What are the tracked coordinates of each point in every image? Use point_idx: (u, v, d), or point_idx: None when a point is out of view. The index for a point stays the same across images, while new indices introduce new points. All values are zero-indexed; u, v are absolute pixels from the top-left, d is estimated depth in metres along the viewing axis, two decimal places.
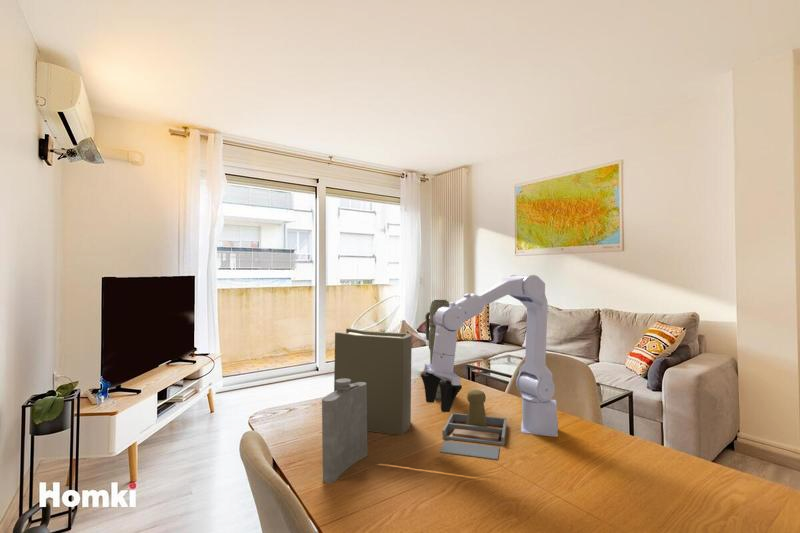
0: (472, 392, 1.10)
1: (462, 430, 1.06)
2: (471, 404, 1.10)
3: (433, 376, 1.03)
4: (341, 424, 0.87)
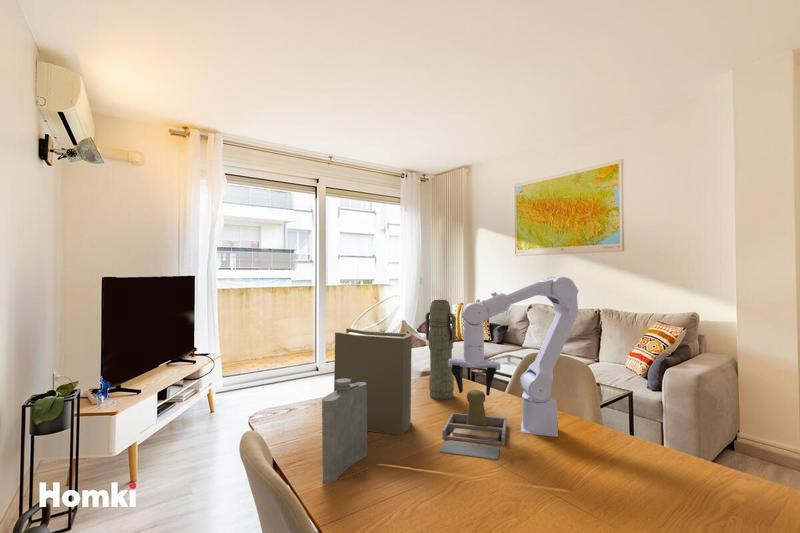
0: (472, 392, 1.10)
1: (462, 429, 1.07)
2: (471, 404, 1.10)
3: (461, 368, 1.12)
4: (341, 424, 0.87)
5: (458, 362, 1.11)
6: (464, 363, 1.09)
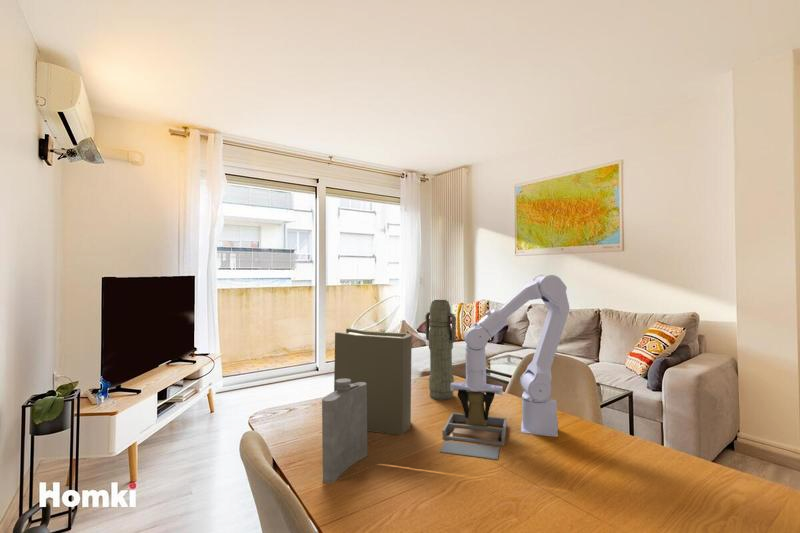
0: (472, 392, 1.10)
1: (462, 429, 1.07)
2: (471, 404, 1.10)
3: (466, 392, 1.12)
4: (341, 424, 0.87)
5: (460, 387, 1.11)
6: (466, 388, 1.10)
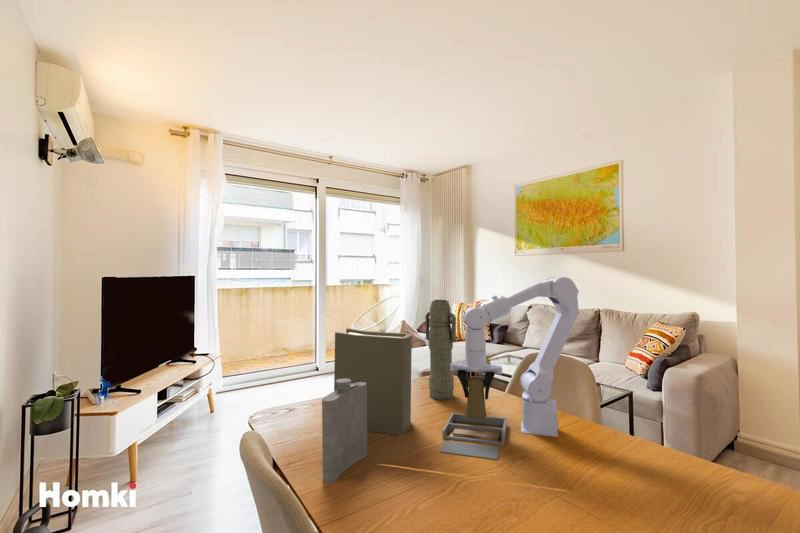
0: (472, 378, 1.10)
1: (462, 430, 1.07)
2: (471, 390, 1.10)
3: (466, 373, 1.12)
4: (341, 424, 0.87)
5: (460, 367, 1.11)
6: (466, 368, 1.10)
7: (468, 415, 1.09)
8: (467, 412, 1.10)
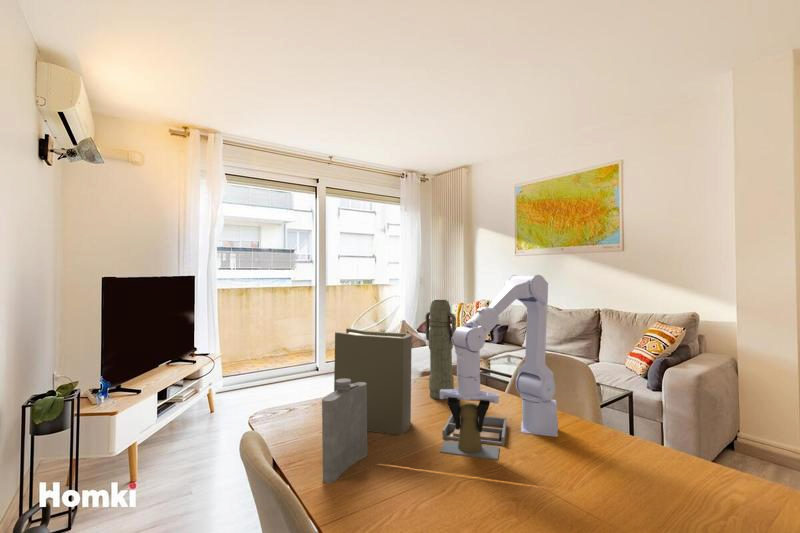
0: (465, 405, 0.97)
1: None
2: (464, 419, 0.97)
3: (458, 401, 0.98)
4: (341, 424, 0.87)
5: (451, 394, 0.97)
6: (458, 396, 0.96)
7: (461, 448, 0.96)
8: (460, 445, 0.97)
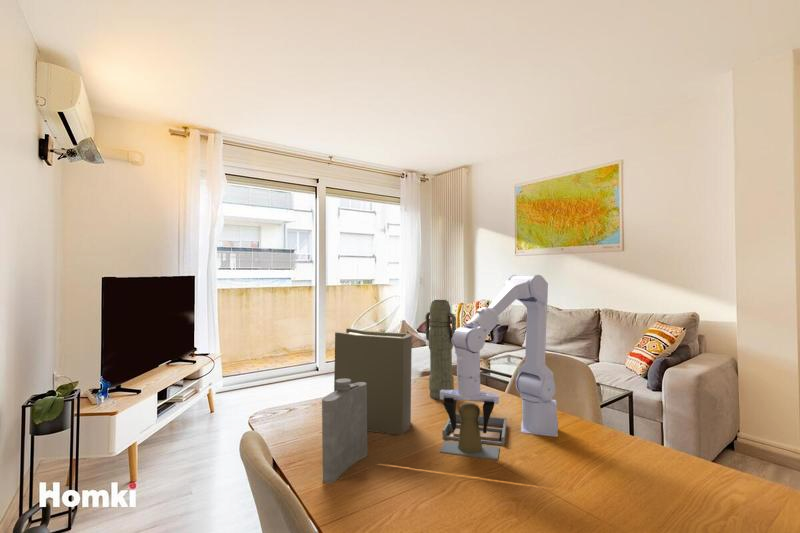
0: (465, 405, 0.97)
1: None
2: (464, 419, 0.97)
3: (454, 401, 0.99)
4: (341, 424, 0.87)
5: (451, 395, 0.97)
6: (458, 396, 0.96)
7: (461, 448, 0.96)
8: (460, 445, 0.97)
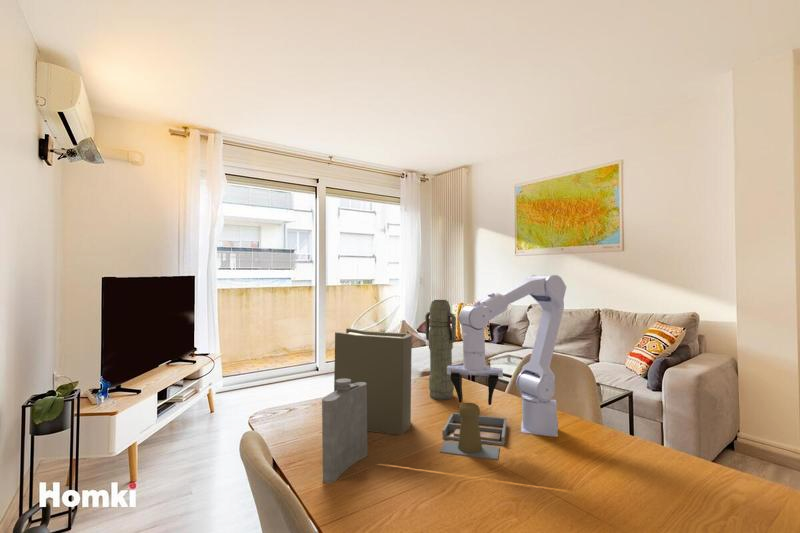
0: (465, 405, 0.97)
1: None
2: (464, 419, 0.97)
3: (460, 376, 1.05)
4: (341, 424, 0.87)
5: (458, 369, 1.03)
6: (464, 370, 1.02)
7: (461, 448, 0.96)
8: (460, 445, 0.97)
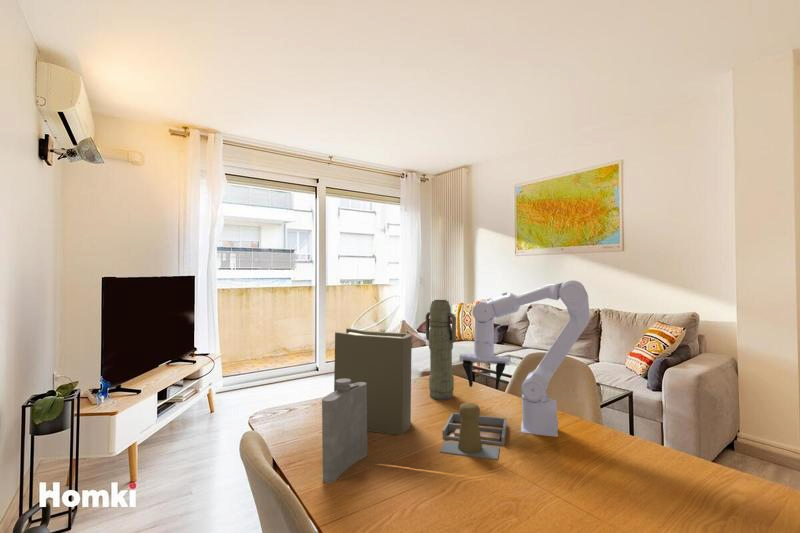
0: (465, 405, 0.97)
1: None
2: (464, 419, 0.97)
3: (471, 363, 1.18)
4: (341, 424, 0.87)
5: (469, 357, 1.16)
6: (475, 358, 1.15)
7: (461, 448, 0.96)
8: (460, 445, 0.97)
